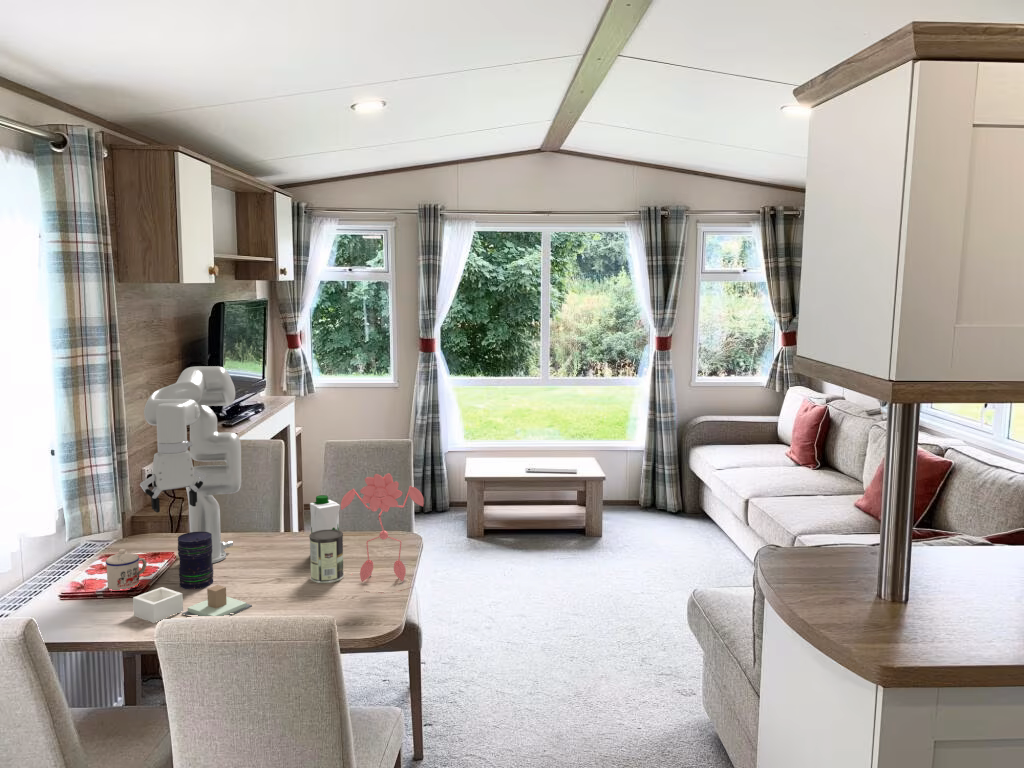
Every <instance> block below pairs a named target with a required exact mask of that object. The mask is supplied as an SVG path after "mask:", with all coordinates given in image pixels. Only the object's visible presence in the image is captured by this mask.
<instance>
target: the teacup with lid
mask: <svg viewBox="0 0 1024 768" xmlns="http://www.w3.org/2000/svg"><path fill="white" fill-rule="evenodd" d="M140 562H142V566H141V568H140V567H139V566H140V564H139V563H140ZM105 565H106V576H107V577H106V578H107V579H106V580H107V589H108V588H109V589H112V590H120V589H126V588H130V587H133V586H135V585H137V584H138V583H139V581H140V575H141V574H143V573H144V572H145V571H146V569H147V560H146V559H145V558H143V557H140V556H139V555H138V554H137V553H133V552H129V551H127V549H125V548H121V549H118V552H117V553H115V554H113V555H110V556H109V557H107V558H106V560H105Z"/></svg>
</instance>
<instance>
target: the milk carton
mask: <svg viewBox="0 0 1024 768" xmlns="http://www.w3.org/2000/svg"><path fill="white" fill-rule="evenodd" d="M309 508H310V510H309V511H310V534H311V533H313V532H315V531H319V530H329V529H331V530H339V531H340V517H339V516H340V510H341V504H339V503H338V502H336V501H333V500H331V499H329V496H328V495H326V494H324V495H323V494H321V495H317V496H316V497H315V502H310V503H309Z"/></svg>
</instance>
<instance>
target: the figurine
mask: <svg viewBox="0 0 1024 768" xmlns="http://www.w3.org/2000/svg"><path fill="white" fill-rule="evenodd" d="M364 482H365V484H366V485H365V486H363V487H362V488H361V489H360V490H359V491H360V494H362V495H363V496H362V497H361V496H360V495H359V494H358V492H357V491H356V490H355V488H352V489H350V490H348V492H346V493H345V494H344V495H343V497H342V499H341V502H340V510H344V509H345V508H347V507H348V506H349V505H350V504H351V503H352V502H353V501H354V498H355V496H356V497H357V498H358V499H359V501H360V502H362V504H363V505H364V506H365V508H366V509H367V510H370V511H372V512H377V511H378V509H380V510H381V511H380V512H379V514H378V520H379V523H380V527H381V531H380V532H379V535H378V536H377V537H374V538H371V539H368V540H366V553H367V554H366V555H367V560H365V562H363V564H362V565H361V567H360V571H359V577H360V582H361V583H362V582H364V581H366V580H367V579H368V578H369V577H371V575H373V574H372V573H373V570H374V561H373V560H371V559H370V556H369V543H368V542H371V541H374V540H377V539H379V538H380V539H381V540H387V539H391V540H394V541H397V542H399V552H398V559H396V560H395V561H394V563H393V572H394V574H395V576H396V577H397V578H398V579H399V580H400V581H401V582H404V580H405V576H406V571H407V570H406V566H405V564H404V563H403V562H402V560H401V549H402V540H400V539H397V538H395V537H390V536H389V532H388V531H386V530H385V529H384V526H383V522H382V518H381V516H382V514H383V512H385V513H388V512H389V510H390V508H401V509H402V508H403V509H404V507H405V506H406V503H407V500H408V497H409V498H410V499H411V500H412V502H414V503H415V504H416V505H418V506H421V507H424V504H425V503H424V501H425V500H424V496H423V494H422V491H420V490H419V489H418V488H417V487H415V486H413V485H409V487H408V491H407V494H406V497H405V499H404V502H403V505H399V502H398V500H397V499H399V498H400V497H402V496H403V491H402V490H400V489H399V486H400V485H399V484H400V483H399V482H398V481H396V480H395V481H394V478H393V476H392V474H391V473H386V474H384V476H382V475H381V474H378V473H375V474H374V475H373V476H367V477H364ZM367 504H368V505H369V506H368V505H367ZM353 574H354V573H352V574H350V576H352V575H353ZM411 588H412V586H410V587H407V588H403V589H400V590H399V591H400V592H403V591H405V590H409V589H411ZM365 591H366V593H369V591H367V590H365ZM377 592H378V591H377ZM384 592H385V591H384ZM384 592H380V591H379V592H378V593H377V594H379V593H381V594H385V593H384Z"/></svg>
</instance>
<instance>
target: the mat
mask: <svg viewBox="0 0 1024 768" xmlns="http://www.w3.org/2000/svg"><path fill="white" fill-rule="evenodd" d="M246 606H247V607H245V608H242V609H240V610H238V611H235V612H233V613H236V614H238V613H240V611H241V612H243V611H245V610H247V609H250V608H252V607H253V605H252V604H250V603H246ZM182 614H185V615H196V614H193V613H190V612H188V610H186V611H183V612H181V615H182ZM185 615H184V616H185ZM228 615H231V616H233V615H232V614H228ZM198 616H199V615H198Z"/></svg>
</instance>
